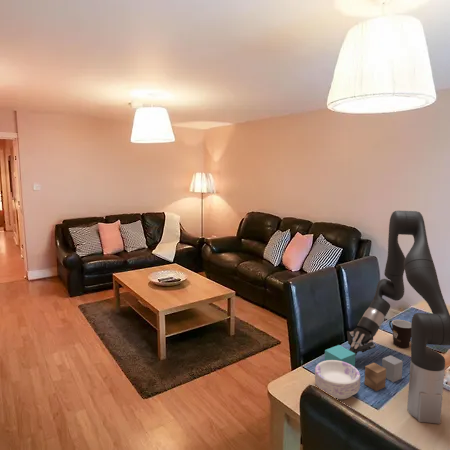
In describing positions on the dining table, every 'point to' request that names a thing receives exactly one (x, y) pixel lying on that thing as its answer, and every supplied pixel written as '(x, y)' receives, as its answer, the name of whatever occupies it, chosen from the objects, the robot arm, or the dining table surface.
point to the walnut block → (375, 376)
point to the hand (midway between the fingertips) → (349, 357)
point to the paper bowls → (337, 378)
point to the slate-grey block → (392, 368)
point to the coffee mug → (401, 333)
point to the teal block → (340, 355)
